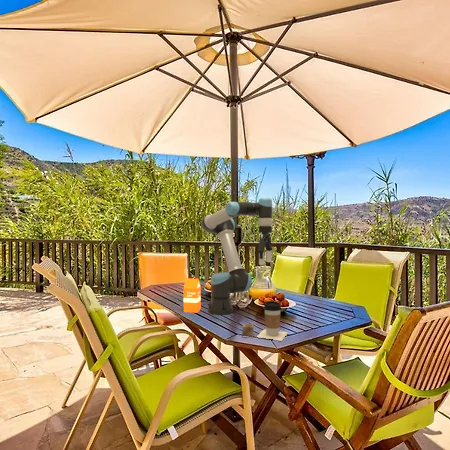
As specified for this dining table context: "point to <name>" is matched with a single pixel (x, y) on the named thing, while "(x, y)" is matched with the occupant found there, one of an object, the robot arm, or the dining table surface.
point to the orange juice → (192, 295)
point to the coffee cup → (272, 318)
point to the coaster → (279, 337)
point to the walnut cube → (248, 330)
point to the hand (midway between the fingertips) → (265, 263)
